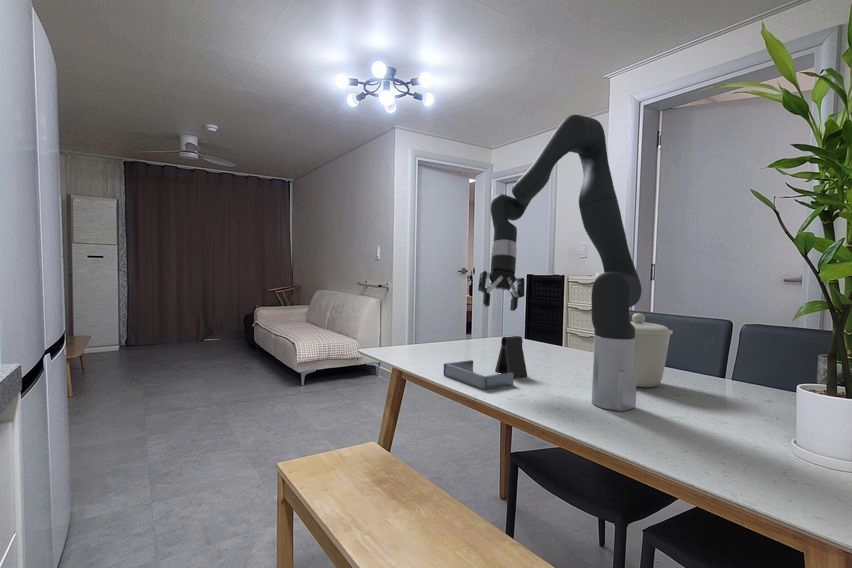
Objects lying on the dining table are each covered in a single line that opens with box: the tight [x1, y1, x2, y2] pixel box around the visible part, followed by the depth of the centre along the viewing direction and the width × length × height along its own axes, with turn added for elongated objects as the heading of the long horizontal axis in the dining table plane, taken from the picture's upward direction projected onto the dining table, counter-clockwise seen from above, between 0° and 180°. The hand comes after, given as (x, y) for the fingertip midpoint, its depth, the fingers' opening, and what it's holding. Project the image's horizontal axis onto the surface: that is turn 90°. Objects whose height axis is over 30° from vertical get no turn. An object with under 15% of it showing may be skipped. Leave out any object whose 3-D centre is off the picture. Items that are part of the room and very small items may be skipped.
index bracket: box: [443, 359, 514, 391], centre depth 129 cm, size 19×11×4 cm, turn 34°
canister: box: [630, 312, 674, 388], centre depth 129 cm, size 18×18×21 cm
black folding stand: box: [494, 335, 528, 379], centre depth 136 cm, size 9×6×12 cm, turn 23°
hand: (500, 308), depth 130 cm, fingers open, 8 cm apart
